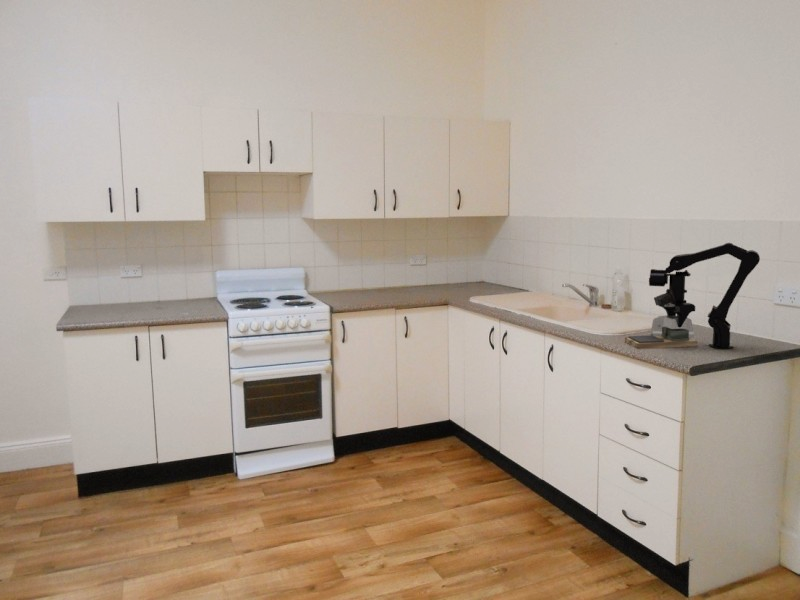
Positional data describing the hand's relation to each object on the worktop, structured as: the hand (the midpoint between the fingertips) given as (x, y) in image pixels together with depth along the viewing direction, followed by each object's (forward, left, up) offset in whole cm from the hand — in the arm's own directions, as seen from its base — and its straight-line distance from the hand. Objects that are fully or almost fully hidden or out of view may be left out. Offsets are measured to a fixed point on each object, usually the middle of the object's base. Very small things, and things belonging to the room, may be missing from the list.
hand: (675, 325), depth 256 cm
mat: (0, +12, -5) cm, 13 cm away
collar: (0, 0, -1) cm, 1 cm away
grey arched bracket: (+13, -6, -8) cm, 16 cm away
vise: (0, +6, -7) cm, 9 cm away
